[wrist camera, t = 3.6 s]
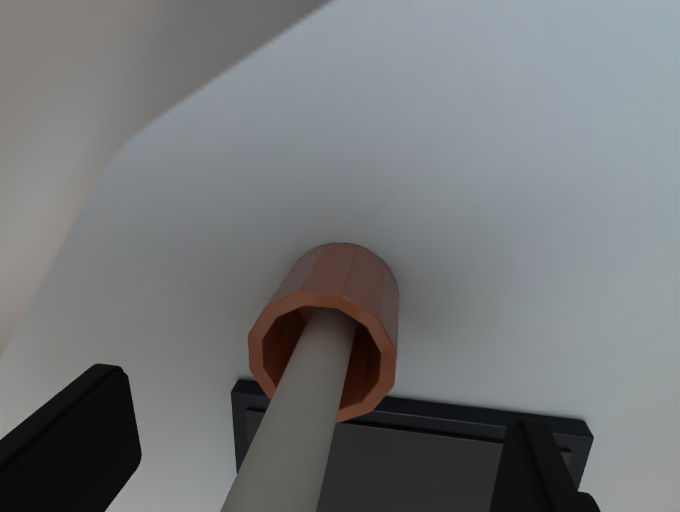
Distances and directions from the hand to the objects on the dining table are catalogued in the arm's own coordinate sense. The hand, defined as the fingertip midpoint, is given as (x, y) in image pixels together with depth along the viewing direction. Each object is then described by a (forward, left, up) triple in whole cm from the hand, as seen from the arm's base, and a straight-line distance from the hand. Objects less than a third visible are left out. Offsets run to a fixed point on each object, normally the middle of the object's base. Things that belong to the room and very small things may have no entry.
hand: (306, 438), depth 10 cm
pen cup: (0, 0, -8) cm, 8 cm away
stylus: (0, 0, -8) cm, 8 cm away
